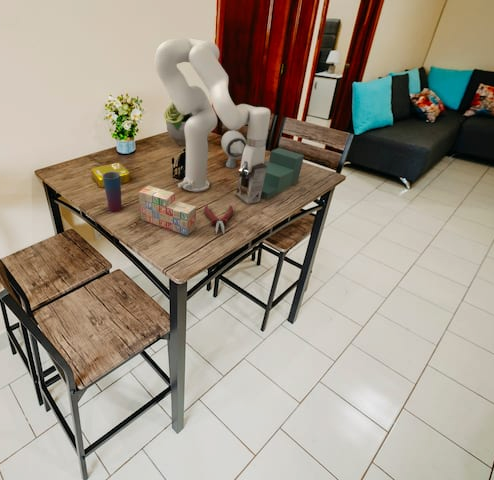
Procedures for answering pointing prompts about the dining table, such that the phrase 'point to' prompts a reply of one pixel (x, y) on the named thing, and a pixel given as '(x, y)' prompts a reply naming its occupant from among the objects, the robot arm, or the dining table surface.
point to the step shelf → (281, 172)
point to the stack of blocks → (166, 210)
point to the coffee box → (252, 184)
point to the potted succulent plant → (176, 124)
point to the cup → (113, 190)
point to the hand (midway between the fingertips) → (250, 182)
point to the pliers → (216, 221)
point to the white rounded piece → (233, 146)
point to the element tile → (116, 167)
